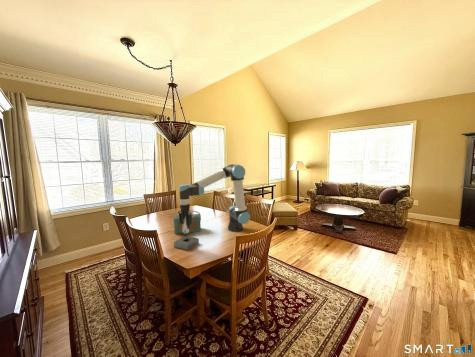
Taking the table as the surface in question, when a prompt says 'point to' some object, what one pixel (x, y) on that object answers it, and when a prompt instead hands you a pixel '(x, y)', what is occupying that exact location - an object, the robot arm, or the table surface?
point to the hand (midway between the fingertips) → (185, 232)
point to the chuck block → (186, 242)
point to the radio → (193, 227)
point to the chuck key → (184, 225)
